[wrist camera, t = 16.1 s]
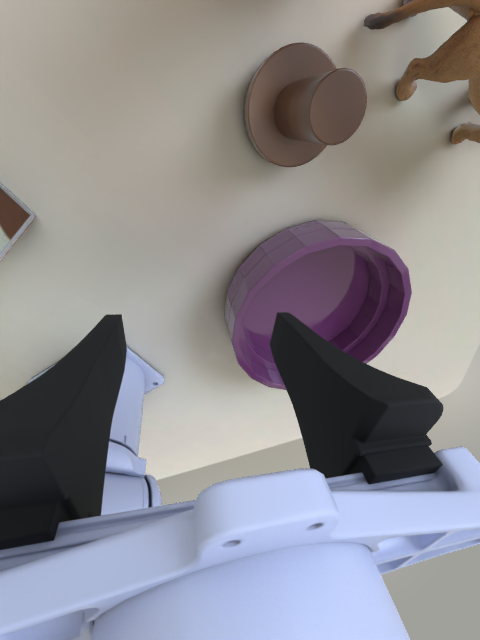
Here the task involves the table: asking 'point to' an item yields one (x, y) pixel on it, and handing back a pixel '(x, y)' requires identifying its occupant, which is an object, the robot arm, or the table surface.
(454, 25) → the table surface
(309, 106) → the brown stamp
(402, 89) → the lion figurine
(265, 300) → the bowl
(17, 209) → the food container
